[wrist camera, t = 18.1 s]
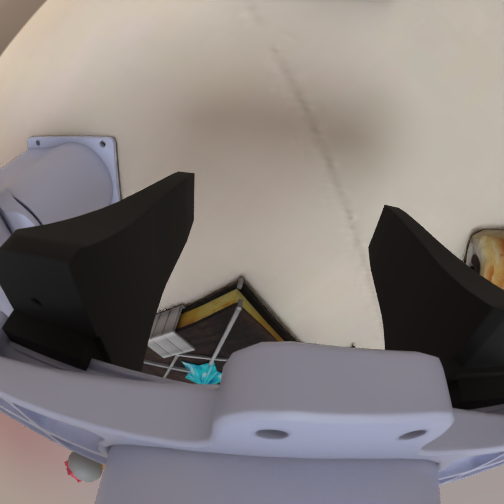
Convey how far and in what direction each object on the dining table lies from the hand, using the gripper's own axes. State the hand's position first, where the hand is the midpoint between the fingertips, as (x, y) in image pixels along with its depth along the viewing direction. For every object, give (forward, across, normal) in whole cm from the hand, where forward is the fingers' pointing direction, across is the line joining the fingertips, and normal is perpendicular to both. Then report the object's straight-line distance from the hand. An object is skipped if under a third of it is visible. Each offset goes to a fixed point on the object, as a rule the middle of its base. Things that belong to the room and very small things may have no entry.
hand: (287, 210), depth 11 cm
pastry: (+10, -22, +6) cm, 25 cm away
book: (+10, +4, +26) cm, 29 cm away
